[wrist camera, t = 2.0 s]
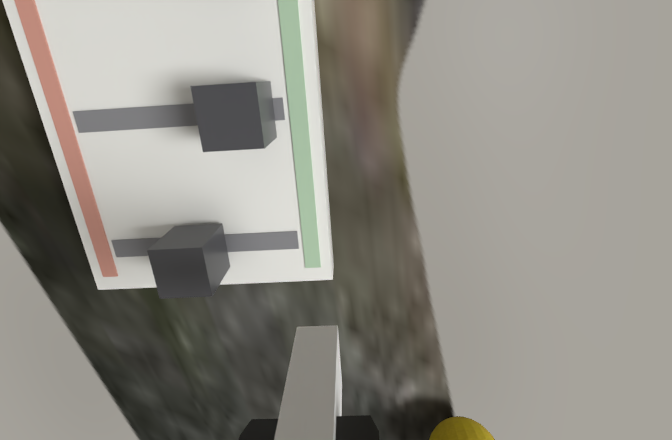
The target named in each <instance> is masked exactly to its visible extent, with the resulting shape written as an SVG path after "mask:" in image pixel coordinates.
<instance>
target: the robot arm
mask: <svg viewBox="0 0 672 440" xmlns="http://www.w3.org/2000/svg"><path fill="white" fill-rule="evenodd" d="M341 412H342V377H341V364H340V350H339V336H338V325H336V326H309V327H297V330H296V335H295V340H294V345H293V350H292V355H291V359H290V364H289V369H288V374H287V379H286V384H285V389H284V394H283V399H282V404H281V408H280V413H279V418H278V419H252V420H251V421H250V422H249V424H248V425H247V427H246V428H245V429H244V431H243V432H242V433H241V435H240V437H239V440H379V431H378V429H377V427H376V425H375V424H374V422H373V420H372V418H371V416H370V415H369V416H341Z"/></svg>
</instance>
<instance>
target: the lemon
mask: <svg viewBox="0 0 672 440" xmlns="http://www.w3.org/2000/svg"><path fill="white" fill-rule="evenodd" d="M429 440H495V439H494V438H493V436H492V435H491V434H490V433H489V432H488V431H487V430H486V429H485V428H484V427H483V426H482V425H481V424H479V423H477V422H476V421H474V420H472V419H469V418H465V417H458V416H457V417H450V418H447V419H445V420H443V421H441V422H440V423H439V424H438V425H437V426H436V427H435V429H434V430H433V432H432V433H431V436H430V439H429Z"/></svg>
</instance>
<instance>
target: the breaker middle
mask: <svg viewBox="0 0 672 440" xmlns="http://www.w3.org/2000/svg"><path fill="white" fill-rule="evenodd" d="M190 87H191V92H192V97H193V103H194V108H195V113H196V119H197V124H198V129H199V135H200V140H201V145H202V150H203V152H215V151H232V150H249V149H265V148H266V147H267V146H268V145H269V144H270V143H271V142H273V141H274V140H275V139H276V138H277V133H276V124H275V115H274V107H273V98H272V90H271V81H260V82H244V83H230V84H215V85H200V86H190Z"/></svg>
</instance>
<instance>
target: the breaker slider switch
mask: <svg viewBox="0 0 672 440" xmlns="http://www.w3.org/2000/svg"><path fill="white" fill-rule="evenodd" d="M147 252H148V256H149V260H150V264H151V267H152V271H153V275H154V279H155V282H156V286H157V290H158V294H159V297H160V298H184V297H208V296H213V294H214V293H215V291H216V289H217V288H218V286H219V284H220V283H221V281H222V280H223V278H224V276H225V275H226V273H227V271H228V270H229V268H230V262H229V257H228V251H227V246H226V240H225V235H224V229H223V224H222V223H221V224H201V225H181V226H174V227H173V228H172V229H171V230H169V231H168V232H167V233H166V234H165V235H164V236H163V237H161V238H160V239H159V240H158V241H157V242H156V243H155V244H153V245H152V246H151V247H150V248H149V249H148V250H147Z"/></svg>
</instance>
